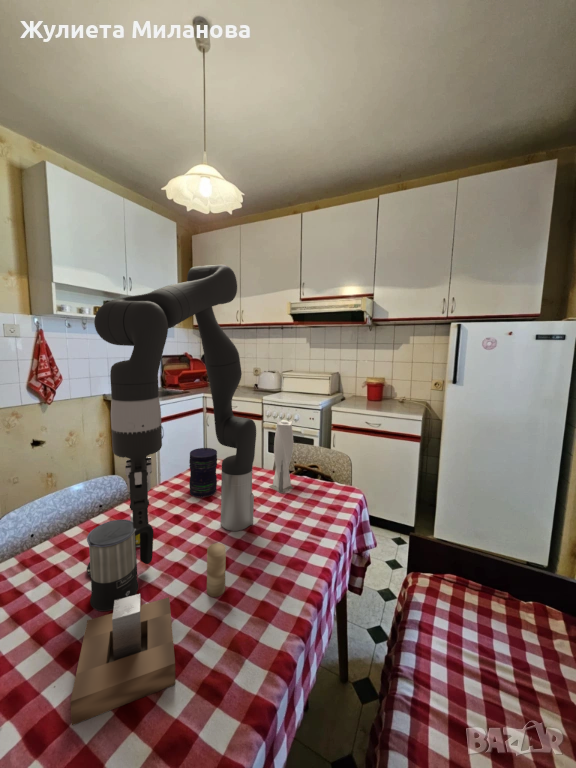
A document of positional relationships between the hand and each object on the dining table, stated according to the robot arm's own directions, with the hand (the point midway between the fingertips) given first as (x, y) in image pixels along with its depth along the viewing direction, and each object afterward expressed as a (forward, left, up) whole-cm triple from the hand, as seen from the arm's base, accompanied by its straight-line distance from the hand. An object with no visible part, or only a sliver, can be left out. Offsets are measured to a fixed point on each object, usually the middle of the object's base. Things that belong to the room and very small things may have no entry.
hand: (141, 513), depth 54 cm
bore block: (+2, +3, -25) cm, 25 cm away
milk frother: (+7, -17, -25) cm, 32 cm away
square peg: (+2, +3, -24) cm, 25 cm away
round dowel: (-15, -7, -25) cm, 30 cm away
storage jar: (-20, -55, -25) cm, 63 cm away
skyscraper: (-49, -49, -26) cm, 73 cm away
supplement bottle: (+1, -31, -25) cm, 40 cm away
